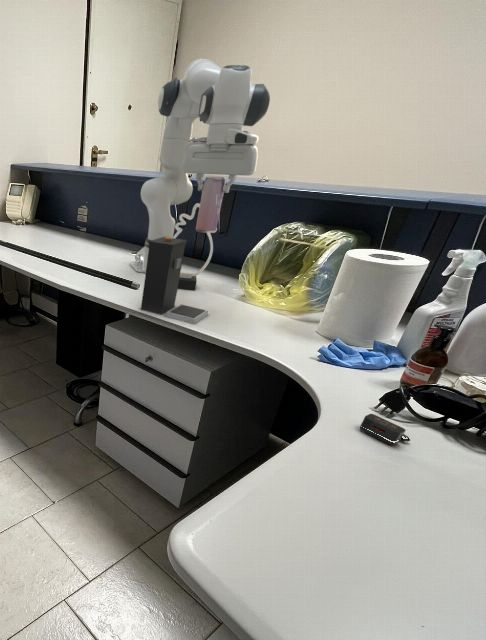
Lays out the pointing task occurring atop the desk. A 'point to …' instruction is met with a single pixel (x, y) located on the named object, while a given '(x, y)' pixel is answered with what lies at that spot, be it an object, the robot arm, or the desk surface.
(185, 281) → the lamp
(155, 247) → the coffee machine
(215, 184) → the beverage can
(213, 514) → the desk surface
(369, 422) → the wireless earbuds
